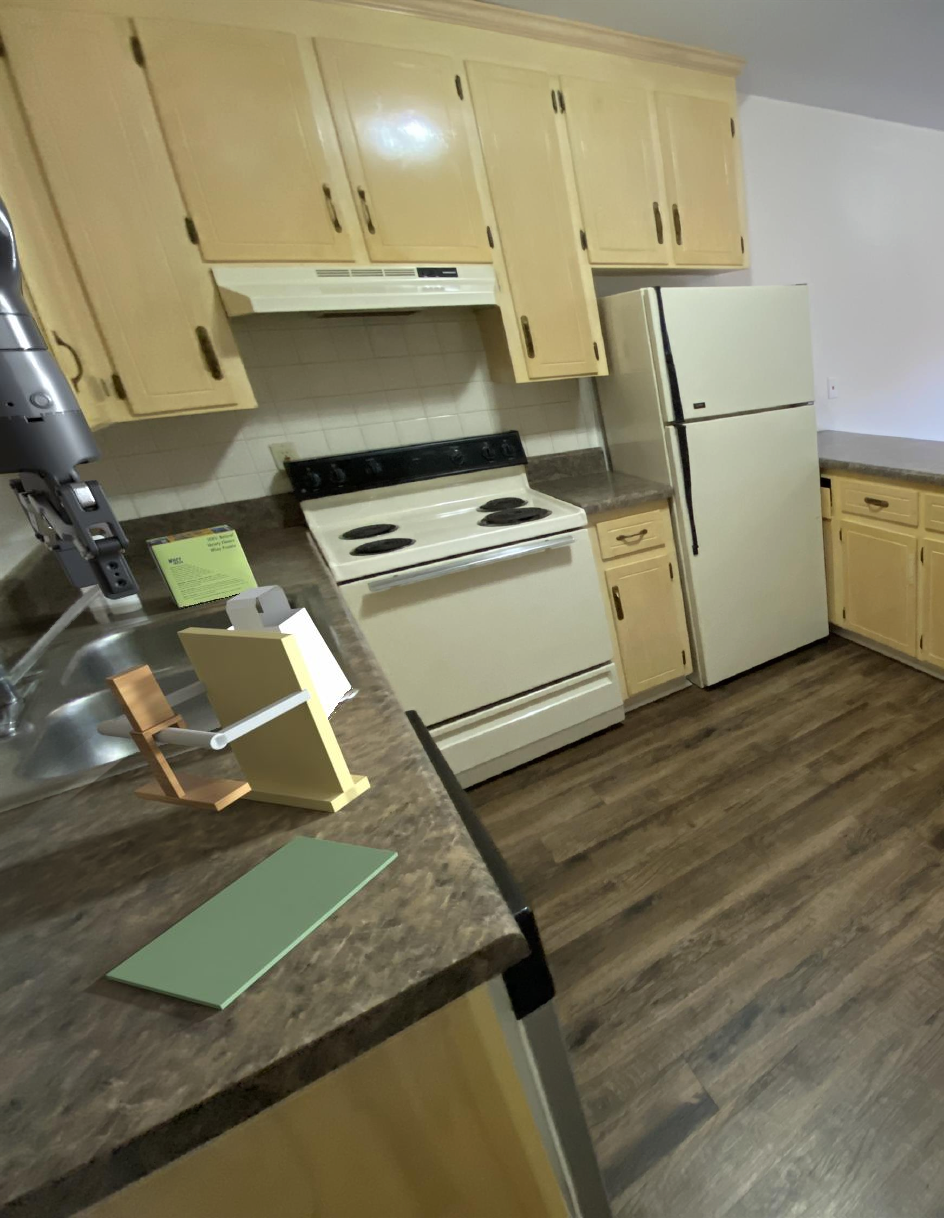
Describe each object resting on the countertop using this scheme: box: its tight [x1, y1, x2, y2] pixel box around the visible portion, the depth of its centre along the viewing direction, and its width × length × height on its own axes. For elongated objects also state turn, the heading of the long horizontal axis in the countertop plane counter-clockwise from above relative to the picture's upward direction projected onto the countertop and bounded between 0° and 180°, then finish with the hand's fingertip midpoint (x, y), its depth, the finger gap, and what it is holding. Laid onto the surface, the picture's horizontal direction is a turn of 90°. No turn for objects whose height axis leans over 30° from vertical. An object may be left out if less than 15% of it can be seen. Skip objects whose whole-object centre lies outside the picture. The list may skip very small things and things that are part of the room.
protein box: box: [144, 524, 259, 608], centre depth 159 cm, size 10×15×16 cm
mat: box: [105, 835, 399, 1011], centre depth 65 cm, size 14×18×1 cm
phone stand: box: [104, 664, 251, 812], centre depth 69 cm, size 4×12×15 cm, turn 75°
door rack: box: [96, 626, 371, 814], centre depth 75 cm, size 13×17×22 cm
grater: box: [225, 584, 352, 718], centre depth 99 cm, size 10×10×20 cm
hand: (106, 590), depth 62 cm, fingers open, 8 cm apart
